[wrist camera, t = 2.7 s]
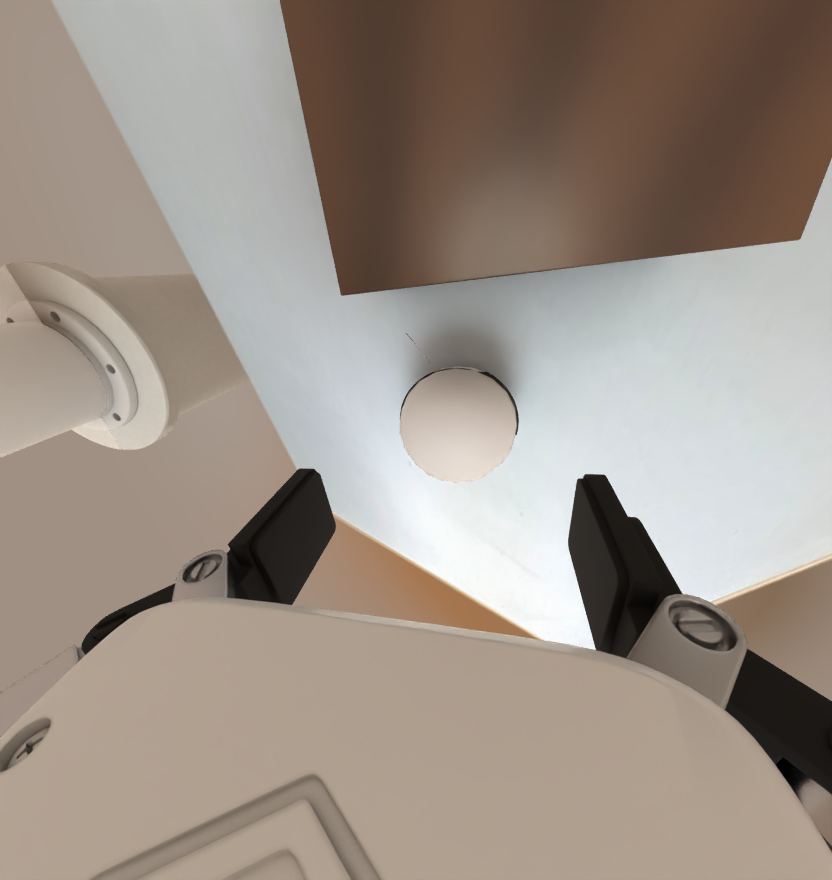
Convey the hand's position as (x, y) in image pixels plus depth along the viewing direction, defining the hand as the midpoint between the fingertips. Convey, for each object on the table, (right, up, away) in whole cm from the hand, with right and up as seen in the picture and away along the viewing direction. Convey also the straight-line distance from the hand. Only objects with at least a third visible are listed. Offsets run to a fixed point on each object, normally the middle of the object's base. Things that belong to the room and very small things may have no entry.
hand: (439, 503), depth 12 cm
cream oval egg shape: (+2, +6, +11) cm, 13 cm away
